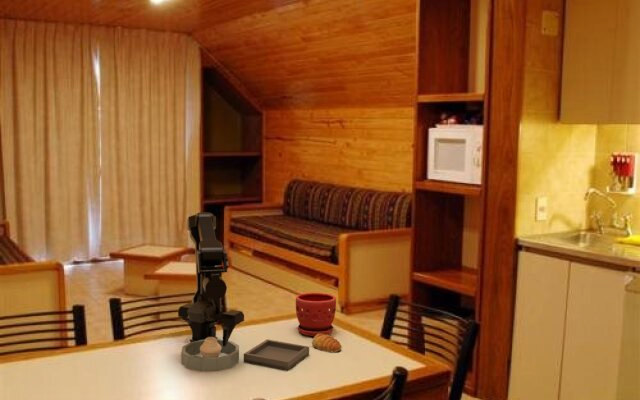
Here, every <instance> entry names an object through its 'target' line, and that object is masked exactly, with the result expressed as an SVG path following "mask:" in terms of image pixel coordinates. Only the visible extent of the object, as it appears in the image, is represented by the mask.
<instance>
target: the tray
mask: <svg viewBox="0 0 640 400" xmlns="http://www.w3.org/2000/svg"><path fill="white" fill-rule="evenodd" d="M308 356H310V346H306V345H300V344H296V343H291V342H290V343H289V342H284V341H279V340H273V339H272V340H271V339H269V338H268V339H265V340H263V341H262V342H260V343H259V344H257V345H256V346H254V347H252V348H250V349H249V350H248V351H246V352H244V353H243V363H244V364H250V365H255V366H260V367H265V368H271V369H275V370H279V371H280V370H281V371H285V370H286V371H285V372H288V370H289V371H290V370H291V369H293V368H294V367H295V366H297V365H298V364H299V363H300V362H302V361H303V360H304V359H306V358H307V357H308ZM296 364H297V365H296ZM292 367H293V368H292Z"/></svg>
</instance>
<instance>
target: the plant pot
mask: <svg viewBox="0 0 640 400" xmlns="http://www.w3.org/2000/svg"><path fill="white" fill-rule="evenodd" d="M336 309H337V298H336V296H334V295H333V294H329V293H323V292H306V293H300V294H298V295H297V296H295V313H296V318H297V321H298V324H299V325H297V330H298V332H299V333H301V334H303V335H304V336H309V337H315V336H316V335H317V334H320V333H321V334H324V335H329V334H331V333H332V332H333V331H334V326H333V322H334V320H335V316H336Z"/></svg>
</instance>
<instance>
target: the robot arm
mask: <svg viewBox="0 0 640 400" xmlns="http://www.w3.org/2000/svg"><path fill="white" fill-rule="evenodd" d="M186 220H187V221H186V228H187V229H186V230H187V231H189V238H190V239H191V240H192V242H193V244H194V245H195V246H194V252H195V253H194V255H195V257H194V258H195V282H196V291H195V293H194V295H193V297H192V299H191V302H188V303H185V304H183V305H181V306H179V308H178V310H177V317H178V318H181V319H182V321H184V322H186V323H187V325H188V326H189V328H190V331H191V334H192V337H191V339H189V341H188V343H190V342H193V341H199V340H204V339H206V338H208V337H214V338H216V339H219V338H218V337H217V326H216V324H217V323H219V322H220V320H221V323H222V324H220V327H221V329H222V340H223V346H226V345H227V342H228V341H230V338H231V335H232V333H233V332H234V329H235V328H236V326H237V325H240V324H241V323H243V322H244V321H245V314H244V312H243V311H241V310H238V309H237V310H236V309H231V310H228V311H226V312H225V311H224V312H223V310H224V308H225V307H224V305H222V298H223V297H224V296H225V295H226V293H227V288H228V287H227V284H226V282H225V280H224V279H223V277H222V276H223V275H222V273H228V269H229V259H228V258H229V257H228V252H227V250H226V249H225V248H224V246H223V244H222V242H221V241H219V240H218V239H217V238H216V232H215V230H216V228H217V217H216V215H214V214H213V213H211V212H197V213H195V214H193V215H189V216H188V218H187V219H186Z"/></svg>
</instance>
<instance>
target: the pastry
mask: <svg viewBox="0 0 640 400" xmlns="http://www.w3.org/2000/svg"><path fill="white" fill-rule="evenodd" d="M311 345H312V346H313V347H314V348H315V349H317V350H319V351H323V352H327V353H337V352H339V351H341V350H342V344H341V343H340V341H339V340H338V339H337V338H334V336H332V335H329V334H328V335H324V334H321V333H320V334H317V335H316V336H313V339H312V340H311Z"/></svg>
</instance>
